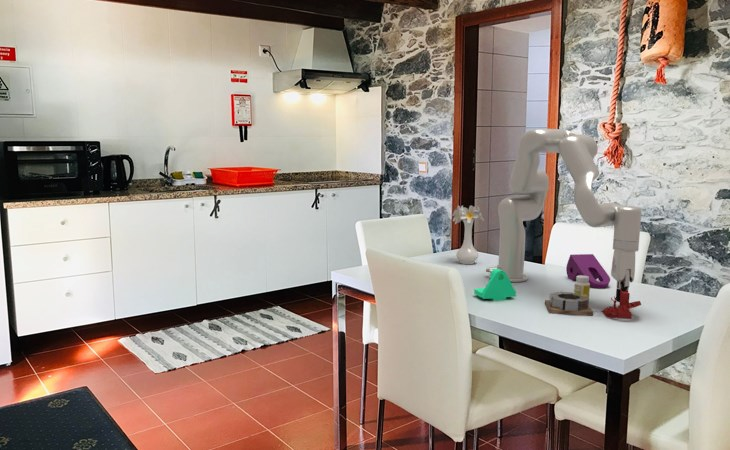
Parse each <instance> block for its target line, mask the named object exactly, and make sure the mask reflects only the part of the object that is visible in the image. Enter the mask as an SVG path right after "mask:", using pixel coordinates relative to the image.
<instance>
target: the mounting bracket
mask: <svg viewBox="0 0 730 450" xmlns="http://www.w3.org/2000/svg"><path fill="white" fill-rule="evenodd" d="M566 274H567V278H568V279H569V280H571V281H576V276H579V275H582V276H588V277H589V283H590V288H593V289H607V288H608V287H609V284H610V282H611V277H610V275H609V274H608V273H607V271H606V270H605V268H604V267H603V266H602V264H601V263H600V261H598V259H597V257H596V256H595V255H594V254H593V253H591V254H590V253H587V254H585V253H584V254H580V253H579V254H570V255H569V257H568V261H567V264H566ZM597 279H598V280H597Z"/></svg>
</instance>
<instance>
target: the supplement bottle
mask: <svg viewBox="0 0 730 450" xmlns="http://www.w3.org/2000/svg"><path fill="white" fill-rule="evenodd" d="M590 289H591V286H590V283H589V277H588V276H582V275H579V276H576V280H575V282H574V290H573V293H578V294H582V295H587V298H588V299H589V300H590Z"/></svg>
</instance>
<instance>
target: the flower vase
mask: <svg viewBox="0 0 730 450" xmlns="http://www.w3.org/2000/svg"><path fill="white" fill-rule="evenodd" d="M451 217H453V218H452V222H454V225H456V224H458V223H461V221H462V222H463V224H464V234H463V235H464V237H463V243H462V245H461V246H460V248H458V250H457V252H456V254H455V255H456V256H455V257H456V258H457V260H458V261H459V263H460V264H463V265H473V264H475V261H477V260H478V258H479V252H478V251H477V249H475V248H474V245H473V237H472V236H473V231H472V230H473V225H474V221H475V220H476V221H477V220H479V219H480V220H481V221H482V222H485V219H484V217H483V215H482V211H481V209H480V207H479V206H477V208H476V206H473V205H469V207H468V208H467V207H464V205H461V206H460V205H457V207H456V209H454V211H453V213H452V214H451Z"/></svg>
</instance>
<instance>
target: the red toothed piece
mask: <svg viewBox="0 0 730 450" xmlns="http://www.w3.org/2000/svg"><path fill="white" fill-rule="evenodd" d="M630 295H631V294H630V292H629V291H628V292H623V291H622V290H621V291H620V302H619V304H618V305H617V303H618V302H617V301H616V295H615V296H613V297H611V298H610V300H611V301H612V303H613V305H612V306H607V307H604V309H602V310H600V312H601V313H602V314H603V315H604V316H605V317H606V318H609V319H610V318H612V319H613V318H615V319H624V320H625V319H626V320H627V319H629V320H631V319H632V318H633V313H632V312H631V310H630V309H633V308H638V307H639V306H642V303H641V300H638V301H633V302H632V301H631V302H630V298H631V297H630ZM613 298H614V299H613Z"/></svg>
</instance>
